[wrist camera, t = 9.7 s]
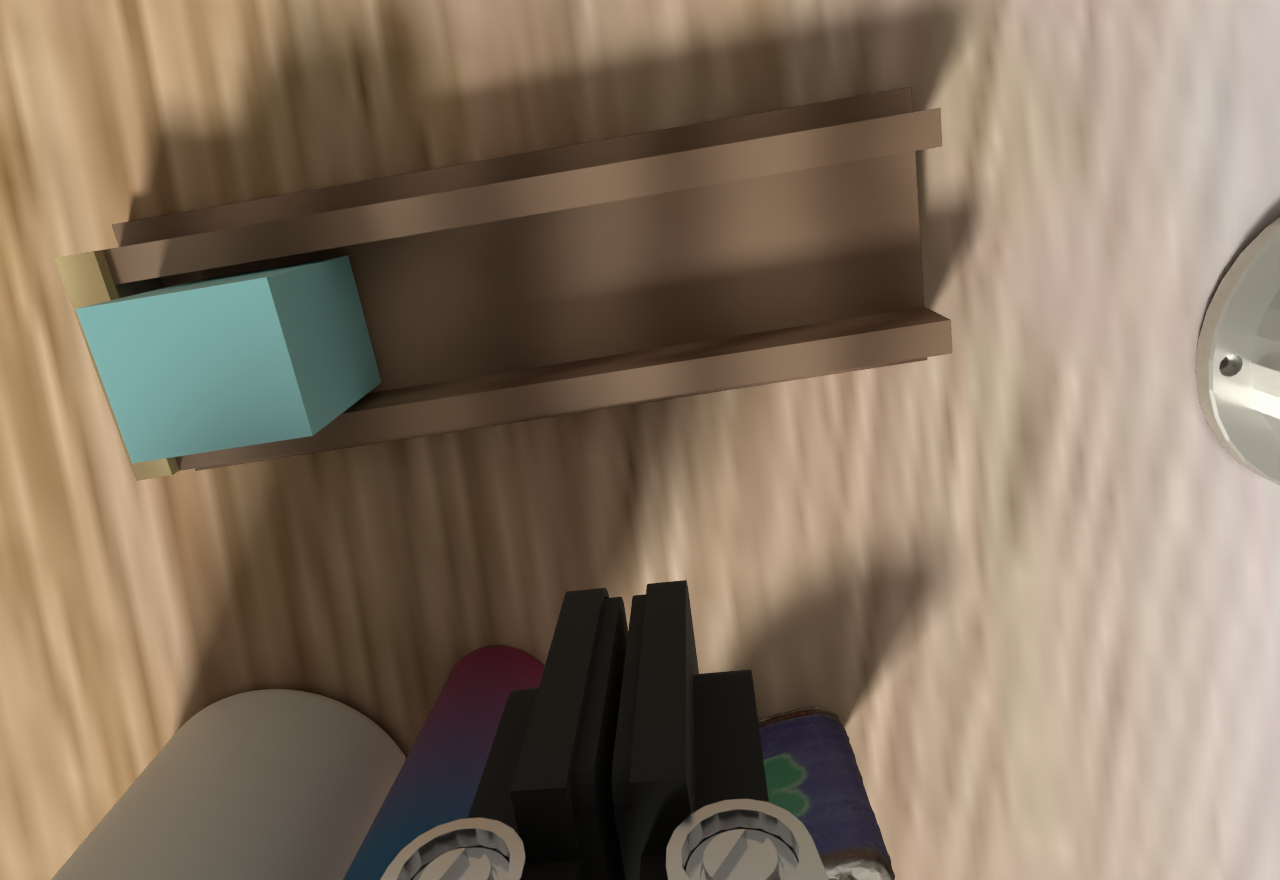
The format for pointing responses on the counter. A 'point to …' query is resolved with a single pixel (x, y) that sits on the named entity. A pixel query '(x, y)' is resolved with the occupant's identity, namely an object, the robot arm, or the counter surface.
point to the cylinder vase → (249, 795)
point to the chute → (587, 269)
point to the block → (233, 358)
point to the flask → (824, 791)
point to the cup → (446, 755)
